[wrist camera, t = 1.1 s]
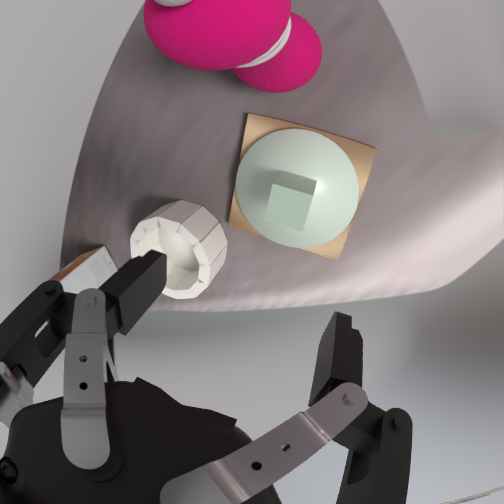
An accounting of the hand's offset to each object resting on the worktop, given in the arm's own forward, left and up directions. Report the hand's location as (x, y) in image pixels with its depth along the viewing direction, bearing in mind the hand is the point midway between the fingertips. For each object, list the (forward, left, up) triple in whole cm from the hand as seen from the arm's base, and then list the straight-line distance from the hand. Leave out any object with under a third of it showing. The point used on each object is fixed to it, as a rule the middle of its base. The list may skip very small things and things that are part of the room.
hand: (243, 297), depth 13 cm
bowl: (+10, -11, -18) cm, 23 cm away
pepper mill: (-12, -4, -18) cm, 22 cm away
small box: (+20, -27, -18) cm, 38 cm away
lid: (0, 0, -16) cm, 16 cm away
